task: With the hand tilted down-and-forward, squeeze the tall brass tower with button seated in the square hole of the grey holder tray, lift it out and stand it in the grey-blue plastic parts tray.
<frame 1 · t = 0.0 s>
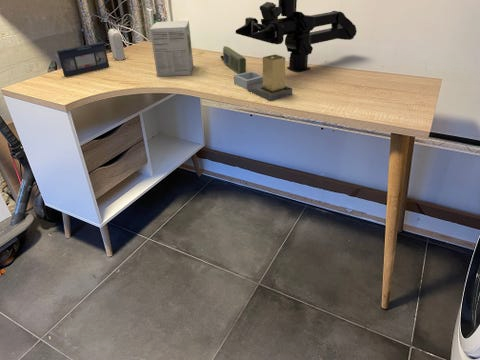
hand: (243, 34, 125), 17 cm above the table, tool horizontal, fingers open, 9 cm apart
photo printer: (119, 58, 170), on the table
vhs cassette tape: (87, 72, 154), on the table
handheld radio: (231, 67, 152), on the table
brass tower with button: (273, 94, 123), resting in grey holder tray
parts tray: (249, 84, 133), on the table
supplement box: (176, 71, 150), on the table
grey holder tray: (269, 92, 125), on the table
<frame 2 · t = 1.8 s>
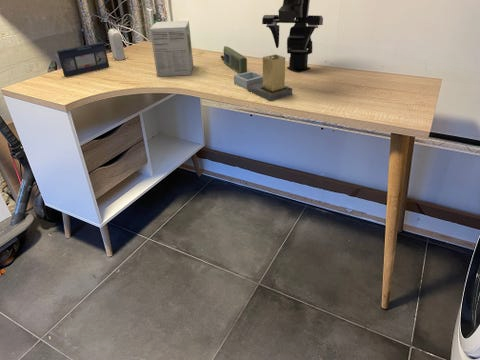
hand: (290, 48, 124), 12 cm above the table, tool pointing down, fingers open, 9 cm apart
nothing on the table moved.
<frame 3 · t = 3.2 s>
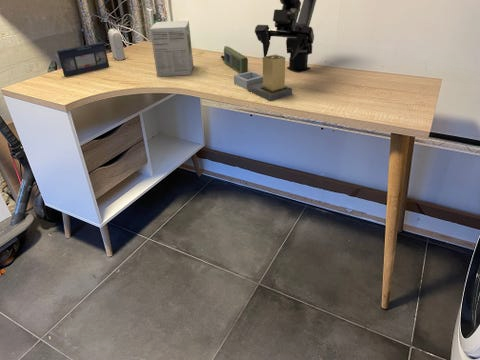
hand: (278, 57, 120), 11 cm above the table, tool tilted 45°, fingers open, 9 cm apart
nothing on the table moved.
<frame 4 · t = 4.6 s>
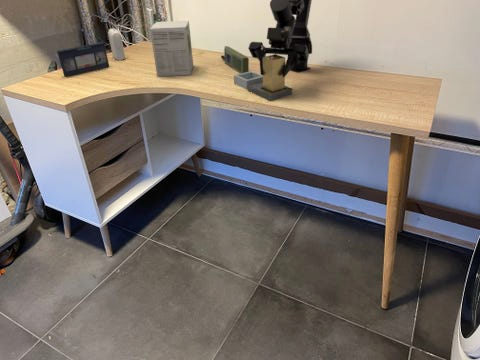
hand: (272, 75, 119), 7 cm above the table, tool tilted 45°, fingers closed on brass tower with button, 7 cm apart
brass tower with button: (273, 94, 123), resting in grey holder tray, touching gripper
everything else where it was.
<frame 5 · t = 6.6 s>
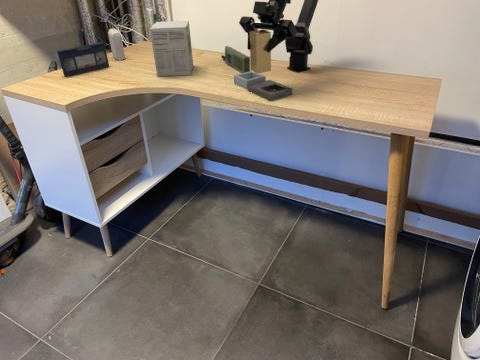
hand: (257, 50, 119), 13 cm above the table, tool tilted 45°, fingers closed on brass tower with button, 7 cm apart
brass tower with button: (260, 70, 124), point 7 cm above the table, touching gripper
when the fingers open (9 cm above the table, at t = 8.5 s): brass tower with button stays where it is, resting on parts tray.
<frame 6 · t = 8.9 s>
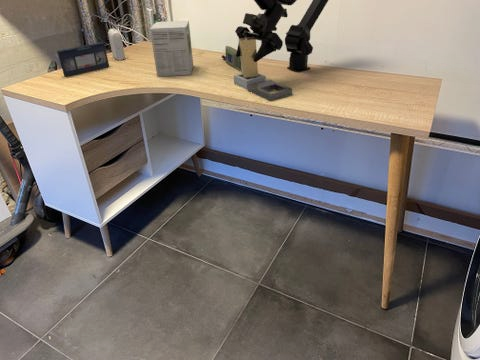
hand: (245, 58, 127), 9 cm above the table, tool tilted 45°, fingers open, 9 cm apart
brass tower with button: (249, 75, 131), point 3 cm above the table, touching gripper, parts tray
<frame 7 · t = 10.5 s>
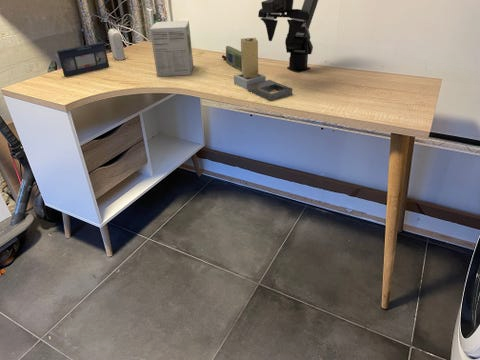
hand: (279, 42, 128), 13 cm above the table, tool pointing down, fingers open, 9 cm apart
brass tower with button: (249, 75, 131), point 3 cm above the table, touching parts tray
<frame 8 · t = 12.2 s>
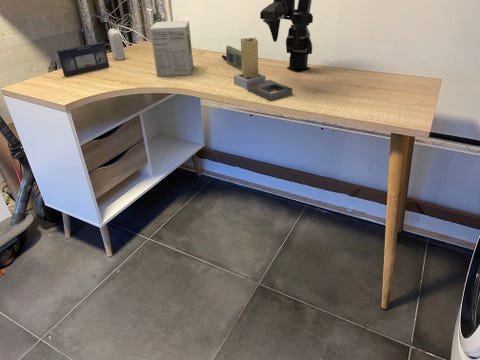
hand: (284, 43, 127), 13 cm above the table, tool pointing down, fingers open, 9 cm apart
at the end: brass tower with button 0.2 cm off-centre on the parts tray, point 3.0 cm above the parts tray's base; brass tower with button touching parts tray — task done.
